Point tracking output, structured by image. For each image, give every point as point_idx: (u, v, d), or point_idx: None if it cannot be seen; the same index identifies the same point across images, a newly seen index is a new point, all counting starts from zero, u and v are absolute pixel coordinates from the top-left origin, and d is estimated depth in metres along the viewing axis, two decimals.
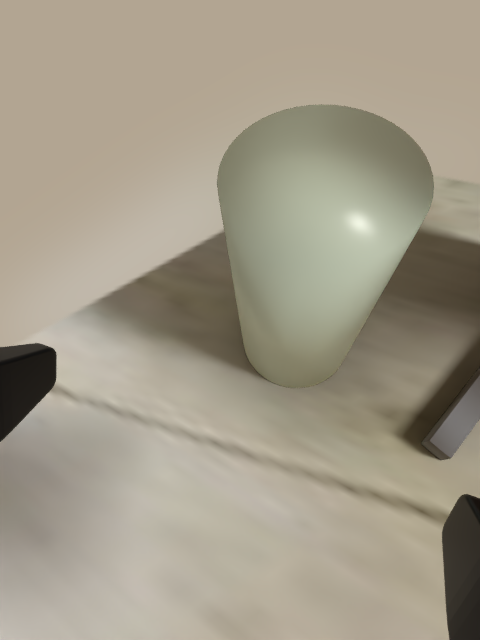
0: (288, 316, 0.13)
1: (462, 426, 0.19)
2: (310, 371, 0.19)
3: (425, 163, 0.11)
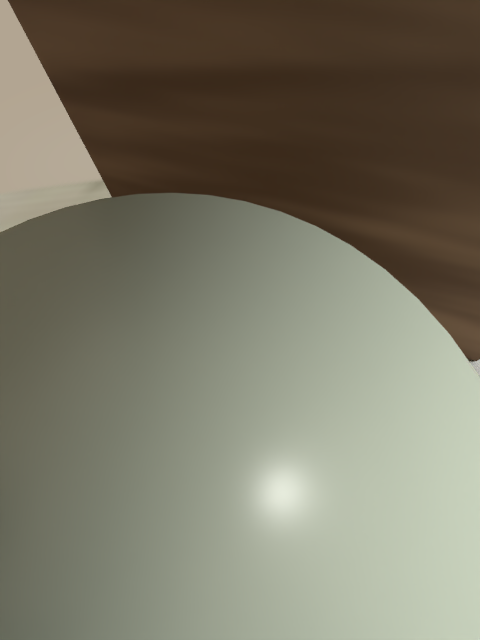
0: None
1: None
2: None
3: None
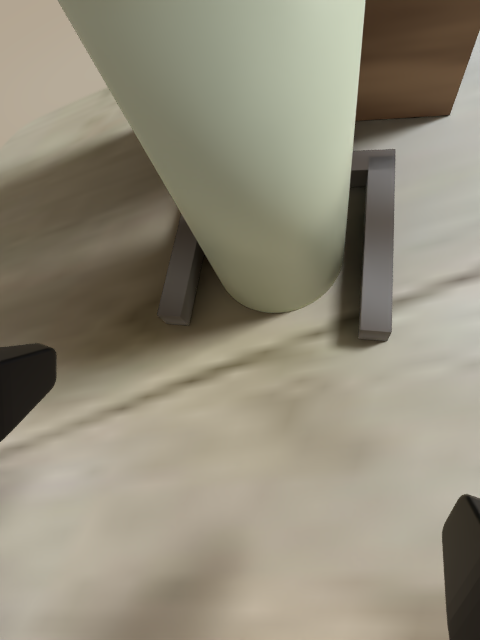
0: (220, 171, 0.09)
1: (179, 282, 0.18)
2: (296, 276, 0.15)
3: None
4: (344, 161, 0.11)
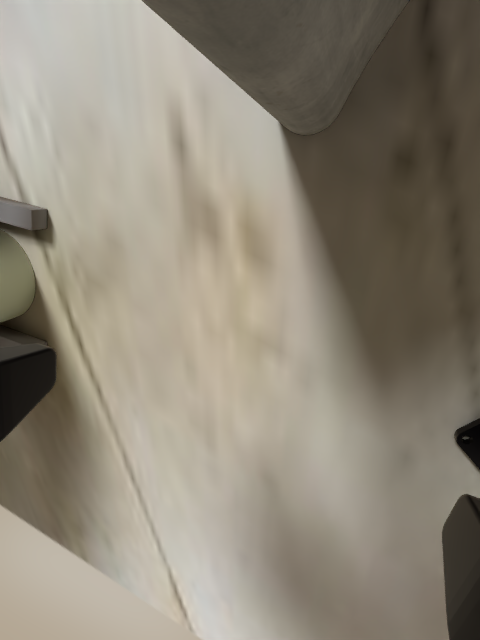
0: None
1: None
2: None
3: None
4: None
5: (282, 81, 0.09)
